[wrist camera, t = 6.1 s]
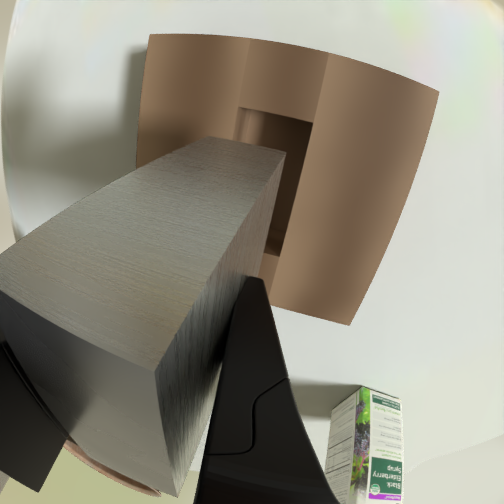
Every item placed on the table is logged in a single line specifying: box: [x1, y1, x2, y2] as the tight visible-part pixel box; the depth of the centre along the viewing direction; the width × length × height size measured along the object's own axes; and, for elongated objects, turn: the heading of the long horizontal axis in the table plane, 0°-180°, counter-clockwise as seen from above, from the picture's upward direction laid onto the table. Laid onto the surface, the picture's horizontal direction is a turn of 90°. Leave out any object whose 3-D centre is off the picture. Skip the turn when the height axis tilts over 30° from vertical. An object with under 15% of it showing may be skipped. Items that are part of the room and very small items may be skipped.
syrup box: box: [324, 387, 404, 504], centre depth 21 cm, size 6×6×14 cm
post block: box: [136, 34, 439, 326], centre depth 16 cm, size 14×14×4 cm
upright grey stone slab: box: [0, 136, 286, 498], centre depth 7 cm, size 2×6×8 cm, turn 170°
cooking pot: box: [63, 435, 161, 497], centre depth 35 cm, size 25×19×12 cm
